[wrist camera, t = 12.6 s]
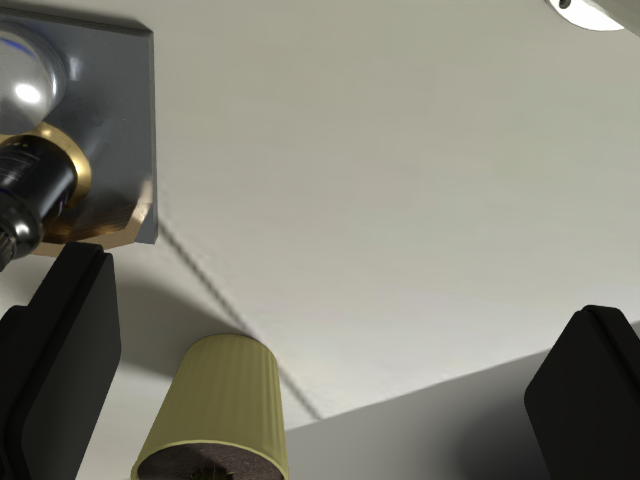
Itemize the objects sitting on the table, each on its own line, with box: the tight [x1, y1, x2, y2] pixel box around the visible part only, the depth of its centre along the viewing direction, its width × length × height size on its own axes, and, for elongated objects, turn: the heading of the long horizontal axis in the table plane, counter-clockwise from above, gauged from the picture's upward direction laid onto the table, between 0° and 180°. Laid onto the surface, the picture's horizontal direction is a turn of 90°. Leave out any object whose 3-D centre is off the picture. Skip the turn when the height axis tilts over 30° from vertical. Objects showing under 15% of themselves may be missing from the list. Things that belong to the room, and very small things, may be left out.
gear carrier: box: [0, 7, 158, 257], centre depth 43 cm, size 20×20×6 cm
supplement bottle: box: [0, 134, 78, 272], centre depth 41 cm, size 7×7×12 cm
